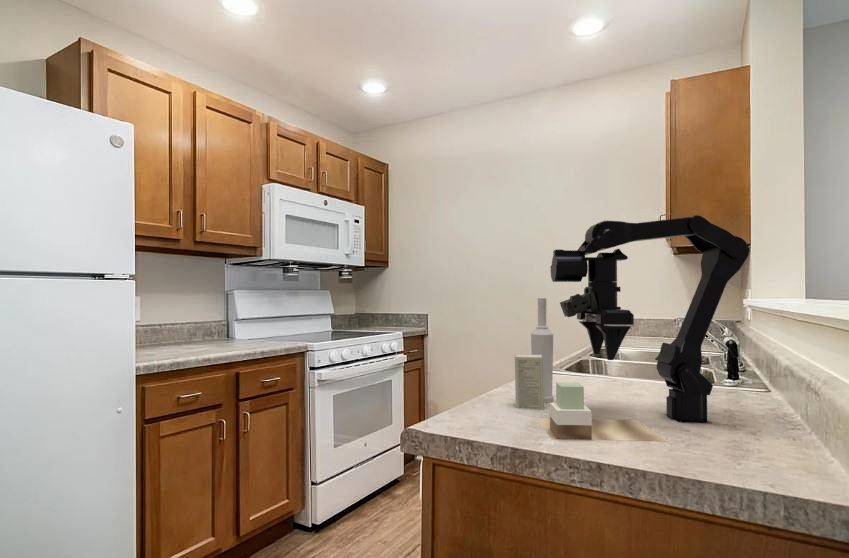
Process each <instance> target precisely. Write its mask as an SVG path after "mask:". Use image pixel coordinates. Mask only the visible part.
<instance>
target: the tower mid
mask: <svg viewBox="0 0 849 558" xmlns="http://www.w3.org/2000/svg"><path fill="white" fill-rule="evenodd" d="M592 413H593V412H592V410H591V409H590V408H589V407H587V406H586V405H585V404H584V409H561V408H560V407H559V406H558V405H557V404H556V402H552V403H549V418H550V417H551V418H552V419H553V420H554V422H555V423H556V424H557V425H592V419H593V418H592Z"/></svg>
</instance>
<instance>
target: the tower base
mask: <svg viewBox="0 0 849 558" xmlns="http://www.w3.org/2000/svg"><path fill="white" fill-rule="evenodd" d="M549 418H550V430H551V431H552V433H553V434H554V436H555V437H556V438H557V439H556V440H563V439H577V441H593V440H592V425H557V424H556V423H555V422H554V420H553V419H552V418H551V417H550V416H549Z"/></svg>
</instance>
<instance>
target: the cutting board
mask: <svg viewBox="0 0 849 558" xmlns="http://www.w3.org/2000/svg"><path fill="white" fill-rule="evenodd" d="M536 419H537V420H538V422H539V424H540V425H541V426H542V428H543V429H544V431H545V432H546V434H547V435H548V437H549V438H550V439H551V440H558V439H557V438H556V437H555V436H554V434H553V433H552V431H551V430H550V417H547V418H546V417H543V418H542V417H537V418H536ZM562 440H564V441H566V440H571V441H575V440H577V439H562ZM577 441H578V440H577ZM591 441H616V442H617V441H619V442H660V443H662V442H664V443H665V442H669V441H668V440H667V439H665V438H664V437H662V436H661V435H660V434H658V433H656V431H654V430H652V429H651V428H649V427H648V426H646V425H645V424H644V423H643V422H641V421H639V420H638V419H617V418H615V419H607V418H601V419H599V418H592V440H591Z"/></svg>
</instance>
